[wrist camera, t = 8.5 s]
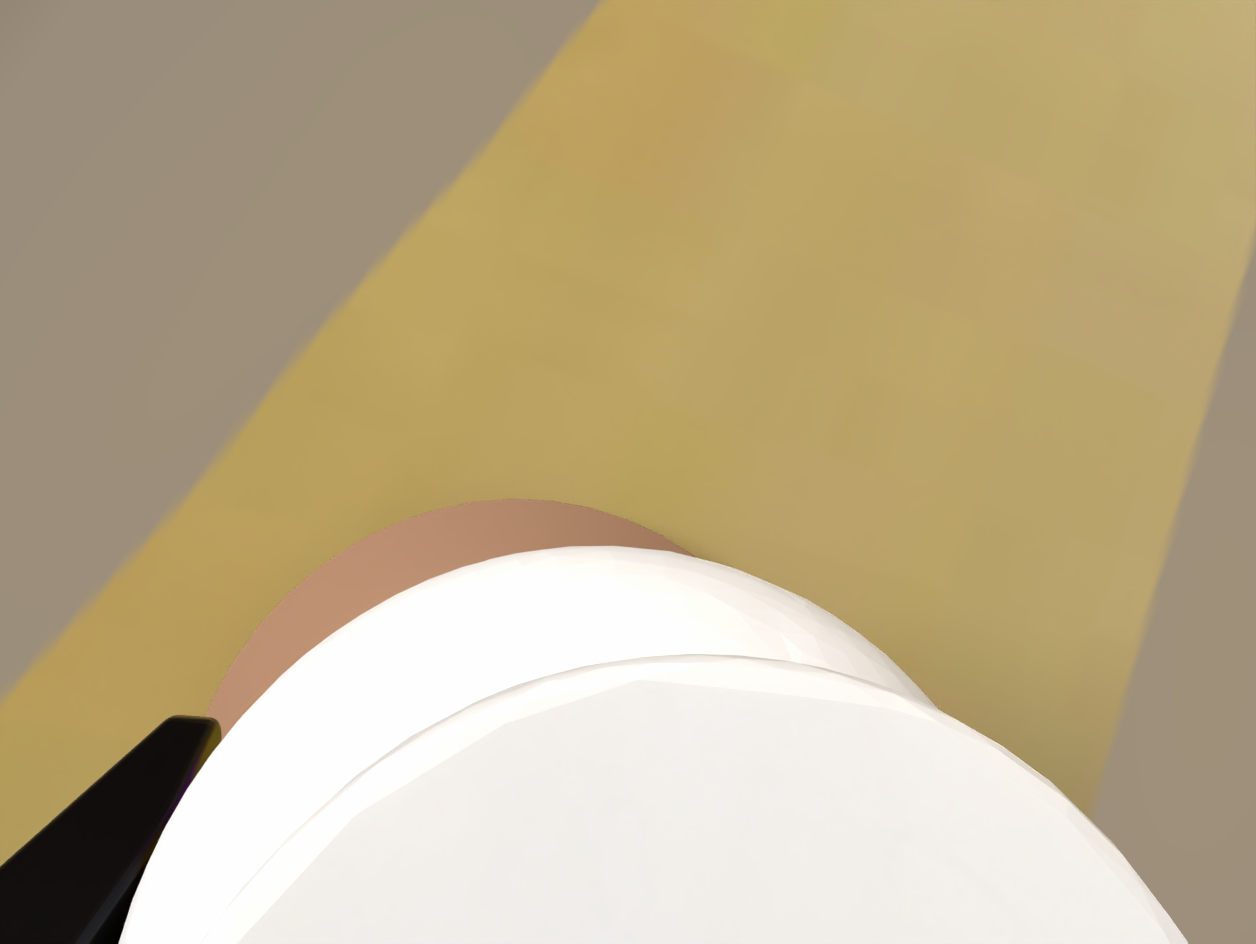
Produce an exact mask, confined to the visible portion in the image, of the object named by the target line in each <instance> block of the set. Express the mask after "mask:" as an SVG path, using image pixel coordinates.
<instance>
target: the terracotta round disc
mask: <svg viewBox="0 0 1256 944" xmlns="http://www.w3.org/2000/svg"><path fill="white" fill-rule="evenodd" d="M569 546H622V547H632V548H642V549H652V550H662V551H671V552H675V553H679V554H683V555H687V556H691V557H695V556H694V555H692V554H690V553H689V552H687V551H686V550H684V549H682V548H681V547H679V546H678V545H676V544H674V543H673V542H671V541H670V540H668V539H666V538H665V537H663V536H662V535H660V534H657V533H655V532H653V531H651V530H649V529H647V528H644V527H642V526H640V525H638V524H636V523H634V522H631V521H629V520H627V519H624V518H621V517H618V516H615V515H611V514H608V513H605V512H602V511H599V510H595V509H592V508H589V507H583V506H577V505H572V504H566V503H560V502H555V501H544V500H522V499H505V500H493V501H481V502H471V503H466V504H461V505H456V506H452V507H447V508H442V509H438V510H433V511H430V512H427V513H424V514H421V515H418V516H415V517H412V518H410V519H407V520H404V521H401V522H398V523H395V524H393V525H391V526H389V527H387V528H385V529H383V530H381V531H379V532H376V533H374V534H372V535H370V536H368V537H366V538H364V539H362V540H360V541H358V542H356V543H355V544H353V545H352V546H350V547H349V548H347V549H346V550H344V551H343V552H341V553H340V554H338V555H337V556H335V557H334V558H332V559H331V560H329V561H328V562H326V563H325V564H323V565H322V566H320V567H319V568H318V569H317V570H315V571H314V572H313V573H312V574H311V575H310V576H308V577H307V578H306V579H305V580H304V581H303V582H301V583H300V584H299V585H298V586H297V587H296V588H294V589H293V590H292V591H291V592H290V593H289V594H287V595H286V597H285V598H284V599H283V600H282V601H281V602H280V603H279V604H278V605H277V606H276V608H275V609H274V610H273V611H272V612H271V613H270V614H269V615H268V616H267V617H266V619H265V620H264V621H263V622H262V623H261V624H260V625H259V626H258V627H257V629H256V630H255V632H254V633H253V634H252V636H251V637H250V639H249V640H248V642H247V643H246V644H245V646H244V647H243V649H242V650H241V652H240V653H239V654H238V656H237V657H236V659H235V660H234V661H233V663H232V664H231V666H230V668H229V670H228V672H227V674H226V676H225V677H224V679H223V681H222V683H221V685H220V687H219V689H218V691H217V693H216V694H215V696H214V698H213V700H212V702H211V704H210V706H209V709H208V711H207V714H206V717H212V718H214V719H216V720H218V721H219V724H220V726H221V733H222V740H223V739H224V737H225V736H226V735H227V734H228V732H229V731H230V730H231V729H232V727H233V726H234V725H235V724H236V723H237V721H238V720H239V719H240V718H241V717H242V716H243V714H244V713H245V712H246V711H247V710H248V709H249V708H250V707H251V706H252V705H253V704H254V703H255V702H256V701H257V700H258V699H259V698H260V697H261V696H262V695H263V694H264V693H265V692H266V691H267V689H268V688H269V687H270V686H271V685H272V684H273V683H274V682H275V681H276V680H277V679H278V678H279V677H280V676H281V675H282V674H283V673H284V672H286V671H287V670H288V669H289V668H290V667H291V666H292V665H293V664H295V663H296V662H297V661H298V660H299V659H300V658H301V657H303V656H304V655H305V654H306V653H307V652H309V651H310V650H311V649H313V648H314V647H315V646H317V645H318V644H319V643H321V642H322V641H323V640H324V639H326V638H327V637H328V636H330V635H331V634H332V633H334V632H335V631H337V630H338V629H340V628H341V627H343V626H344V625H346V624H347V623H349V622H350V621H352V620H354V619H355V618H357V617H358V616H360V615H361V614H363V613H365V612H366V611H368V610H370V609H372V608H373V607H375V606H377V605H379V604H380V603H382V602H384V601H386V600H387V599H389V598H391V597H392V596H394V595H396V594H398V593H400V592H402V591H405V590H407V589H409V588H411V587H413V586H415V585H418V584H420V583H422V582H424V581H426V580H428V579H431V578H434V577H436V576H439V575H442V574H445V573H447V572H450V571H453V570H456V569H458V568H461V567H464V566H468V565H472V564H475V563H479V562H483V561H486V560H489V559H493V558H497V557H502V556H506V555H511V554H515V553H522V552H529V551H536V550H544V549H552V548H561V547H569ZM695 558H696V557H695Z"/></svg>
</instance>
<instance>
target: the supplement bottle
mask: <svg viewBox="0 0 1256 944" xmlns="http://www.w3.org/2000/svg"><path fill="white" fill-rule="evenodd" d="M119 944H1188V942H1187V940H1186V939H1185V938H1184V936H1183V935H1182V933H1181V932H1180V931H1179V929H1178V928H1177V927H1176V925H1175V924H1174V922H1173V921H1172V919H1171V918H1170V916H1169V915H1168V914H1167V912H1166V911H1165V910H1164V909H1163V907H1162V906H1161V905H1160V903H1159V902H1158V901H1157V899H1156V898H1155V897H1154V895H1153V894H1152V893H1151V891H1150V890H1149V889H1148V887H1147V886H1146V885H1145V884H1144V882H1143V881H1142V880H1141V878H1140V877H1139V876H1138V874H1137V873H1136V872H1135V870H1134V869H1133V868H1132V866H1131V865H1130V864H1129V863H1128V862H1127V860H1126V859H1125V857H1124V856H1123V855H1122V853H1121V852H1120V851H1119V850H1118V848H1117V847H1116V846H1115V845H1114V843H1113V842H1112V841H1111V840H1110V839H1109V838H1108V837H1107V836H1106V835H1105V834H1104V833H1103V832H1102V831H1101V830H1100V829H1099V828H1098V827H1096V825H1094V823H1092V822H1091V821H1090V820H1089V819H1088V818H1087V817H1086V816H1085V815H1084V814H1083V813H1082V812H1081V811H1080V810H1079V809H1078V808H1077V807H1076V806H1075V805H1074V804H1073V803H1072V802H1071V801H1070V800H1069V799H1068V798H1067V797H1066V796H1065V795H1064V794H1063V793H1062V792H1061V791H1060V790H1059V789H1058V788H1057V787H1056V786H1055V785H1054V784H1053V783H1052V782H1051V781H1049V780H1048V779H1047V778H1045V777H1044V776H1042V775H1041V774H1040V773H1038V772H1037V771H1036V770H1034V769H1033V768H1032V767H1030V766H1029V765H1027V764H1026V763H1025V762H1023V761H1022V760H1021V759H1019V758H1018V757H1017V756H1015V755H1014V754H1012V753H1011V752H1010V751H1008V750H1007V749H1006V748H1004V747H1003V746H1001V745H1000V744H998V743H996V742H994V741H993V740H991V739H989V738H987V737H986V736H984V735H982V734H980V733H979V732H977V731H975V730H974V729H972V728H970V727H968V726H967V725H965V724H963V723H961V722H960V721H958V720H956V719H954V718H953V717H951V716H949V715H947V714H946V713H944V712H942V711H940V710H939V709H938V708H937V707H936V706H935V705H934V704H933V703H932V701H931V700H930V699H929V698H928V697H927V696H926V695H925V694H924V693H923V692H922V691H921V690H920V688H919V687H918V686H917V685H916V684H915V683H914V682H913V681H912V680H911V679H910V678H909V677H908V676H907V675H906V674H905V673H904V672H903V671H902V670H901V669H900V668H899V667H898V666H897V665H896V664H895V663H894V662H893V661H892V660H891V659H890V658H889V657H888V656H887V655H886V654H885V653H883V652H882V651H881V650H880V649H878V648H877V647H876V646H875V645H873V644H872V643H871V642H869V641H868V640H867V639H866V638H864V637H863V636H862V635H861V634H859V633H858V632H857V631H855V630H854V629H852V628H851V627H849V626H848V625H847V624H845V623H844V622H842V621H841V620H840V619H838V618H837V617H835V616H834V615H832V614H831V613H829V612H827V611H826V610H824V609H822V608H821V607H819V606H817V605H815V604H814V603H812V602H810V601H809V600H807V599H805V598H803V597H801V596H798V595H796V594H794V593H792V592H789V591H787V590H785V589H783V588H780V587H778V586H776V585H774V584H771V583H769V582H766V581H764V580H762V579H759V578H757V577H755V576H752V575H750V574H747V573H745V572H743V571H740V570H738V569H735V568H731V567H728V566H725V565H722V564H718V563H715V562H711V561H707V560H703V559H699V558H695V557H691V556H687V555H683V554H679V553H675V552H671V551H662V550H652V549H642V548H632V547H622V546H569V547H561V548H552V549H544V550H536V551H529V552H522V553H515V554H511V555H506V556H502V557H497V558H493V559H489V560H486V561H483V562H479V563H475V564H472V565H468V566H464V567H461V568H458V569H456V570H453V571H450V572H447V573H445V574H442V575H439V576H436V577H434V578H431V579H428V580H426V581H424V582H422V583H420V584H418V585H415V586H413V587H411V588H409V589H407V590H405V591H402V592H400V593H398V594H396V595H394V596H392V597H391V598H389V599H387V600H386V601H384V602H382V603H380V604H379V605H377V606H375V607H373V608H372V609H370V610H368V611H366V612H365V613H363V614H361V615H360V616H358V617H357V618H355V619H354V620H352V621H350V622H349V623H347V624H346V625H344V626H343V627H341V628H340V629H338V630H337V631H335V632H334V633H332V634H331V635H330V636H328V637H327V638H326V639H324V640H323V641H322V642H321V643H319V644H318V645H317V646H315V647H314V648H313V649H311V650H310V651H309V652H307V653H306V654H305V655H304V656H303V657H301V658H300V659H299V660H298V661H297V662H296V663H295V664H293V665H292V666H291V667H290V668H289V669H288V670H287V671H286V672H284V673H283V674H282V675H281V676H280V677H279V678H278V679H277V680H276V681H275V682H274V683H273V684H272V685H271V686H270V687H269V688H268V689H267V691H266V692H265V693H264V694H263V695H262V696H261V697H260V698H259V699H258V700H257V701H256V702H255V703H254V704H253V705H252V706H251V707H250V708H249V709H248V710H247V711H246V712H245V713H244V714H243V716H242V717H241V718H240V719H239V720H238V721H237V723H236V724H235V725H234V726H233V727H232V729H231V730H230V731H229V732H228V734H227V735H226V736H225V737H224V739H223V740H222V741H221V742H220V744H219V745H218V746H217V747H216V749H215V750H214V751H213V752H212V754H211V755H210V756H209V758H208V759H207V761H206V762H205V764H204V765H203V767H202V768H201V770H200V771H199V772H198V774H197V775H196V777H195V778H194V780H193V781H192V783H191V784H190V786H189V787H188V788H187V790H186V792H185V794H184V795H183V797H182V799H181V801H180V802H179V804H178V806H177V807H176V809H175V811H174V813H173V814H172V816H171V818H170V820H169V821H168V823H167V825H166V827H165V828H164V830H163V832H162V835H161V837H160V839H159V841H158V843H157V845H156V847H155V849H154V851H153V854H152V856H151V858H150V860H149V862H148V864H147V866H146V869H145V871H144V874H143V876H142V878H141V881H140V883H139V886H138V888H137V890H136V893H135V895H134V897H133V900H132V903H131V906H130V909H129V912H128V915H127V919H126V922H125V925H124V928H123V931H122V934H121V937H120V940H119Z"/></svg>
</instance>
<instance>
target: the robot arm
mask: <svg viewBox="0 0 1256 944" xmlns="http://www.w3.org/2000/svg"><path fill="white" fill-rule="evenodd" d="M221 741H222V733H221V726H220V724H219V721H218V720H216V719H214V718H212V717H199V716H186V715H175V716H172V717H170V718H168V719H166V720H165V721H164V722H162V723H161V724H160V725H159V726H158V727H157V728H156V729H155V730H153V731H152V732H151V733H150V734H149V735H148V736H147V737H146V738H144V739H143V740H142V741H141V742H140V743H139V744H138V745H137V746H135V747H134V748H133V749H132V750H131V751H130V752H129V753H128V754H126V755H125V756H124V757H123V758H122V759H121V760H120V761H119V762H117V763H116V764H115V765H114V766H113V767H112V768H111V769H110V770H108V771H107V772H106V773H105V774H104V775H103V776H102V777H101V778H99V779H98V780H97V781H96V782H95V783H94V784H93V785H92V786H90V787H89V788H88V789H87V790H86V791H85V792H84V793H83V794H81V795H80V796H79V797H78V798H77V799H76V800H75V801H74V802H72V803H71V804H70V805H69V806H68V807H67V808H66V809H64V810H63V811H62V812H61V813H60V814H59V815H58V816H57V817H55V818H54V819H53V820H52V821H51V822H50V823H49V824H48V825H46V826H45V827H44V828H43V829H42V830H41V831H40V832H39V833H37V834H36V835H35V836H34V837H33V838H32V839H31V840H30V841H28V842H27V843H26V844H25V845H24V846H23V847H22V848H21V849H19V850H18V851H17V852H16V853H15V854H14V855H13V856H12V857H10V858H9V859H8V860H7V861H6V862H5V863H4V864H3V865H1V866H0V944H119V940H120V937H121V934H122V931H123V928H124V925H125V922H126V919H127V915H128V912H129V909H130V906H131V903H132V900H133V897H134V895H135V893H136V890H137V888H138V886H139V883H140V881H141V878H142V876H143V874H144V871H145V869H146V866H147V864H148V862H149V860H150V858H151V856H152V854H153V851H154V849H155V847H156V845H157V843H158V841H159V839H160V837H161V835H162V832H163V830H164V828H165V827H166V825H167V823H168V821H169V820H170V818H171V816H172V814H173V813H174V811H175V809H176V807H177V806H178V804H179V802H180V801H181V799H182V797H183V795H184V794H185V792H186V790H187V788H188V787H189V786H190V784H191V783H192V781H193V780H194V778H195V777H196V775H197V774H198V772H199V771H200V770H201V768H202V767H203V765H204V764H205V762H206V761H207V759H208V758H209V756H210V755H211V754H212V752H213V751H214V750H215V749H216V747H217V746H218V745H219V744H220V742H221Z"/></svg>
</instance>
